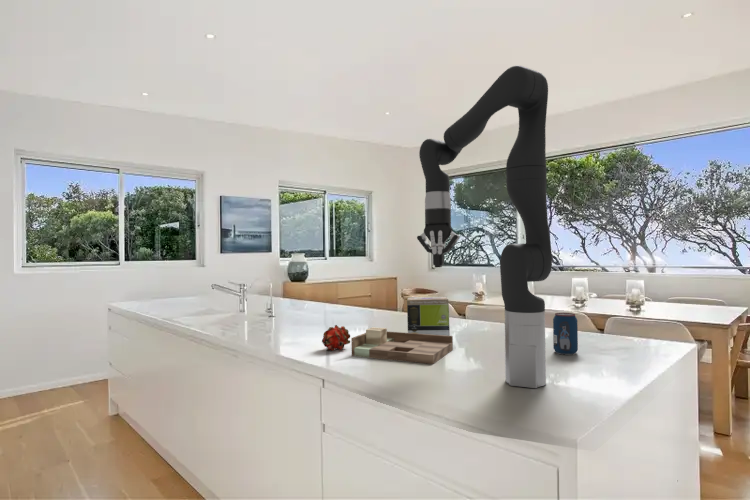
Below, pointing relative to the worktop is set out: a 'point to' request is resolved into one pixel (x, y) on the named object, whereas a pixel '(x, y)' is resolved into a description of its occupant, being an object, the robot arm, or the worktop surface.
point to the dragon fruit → (336, 338)
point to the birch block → (376, 336)
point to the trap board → (405, 347)
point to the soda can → (565, 333)
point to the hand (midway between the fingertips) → (438, 267)
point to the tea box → (428, 315)
